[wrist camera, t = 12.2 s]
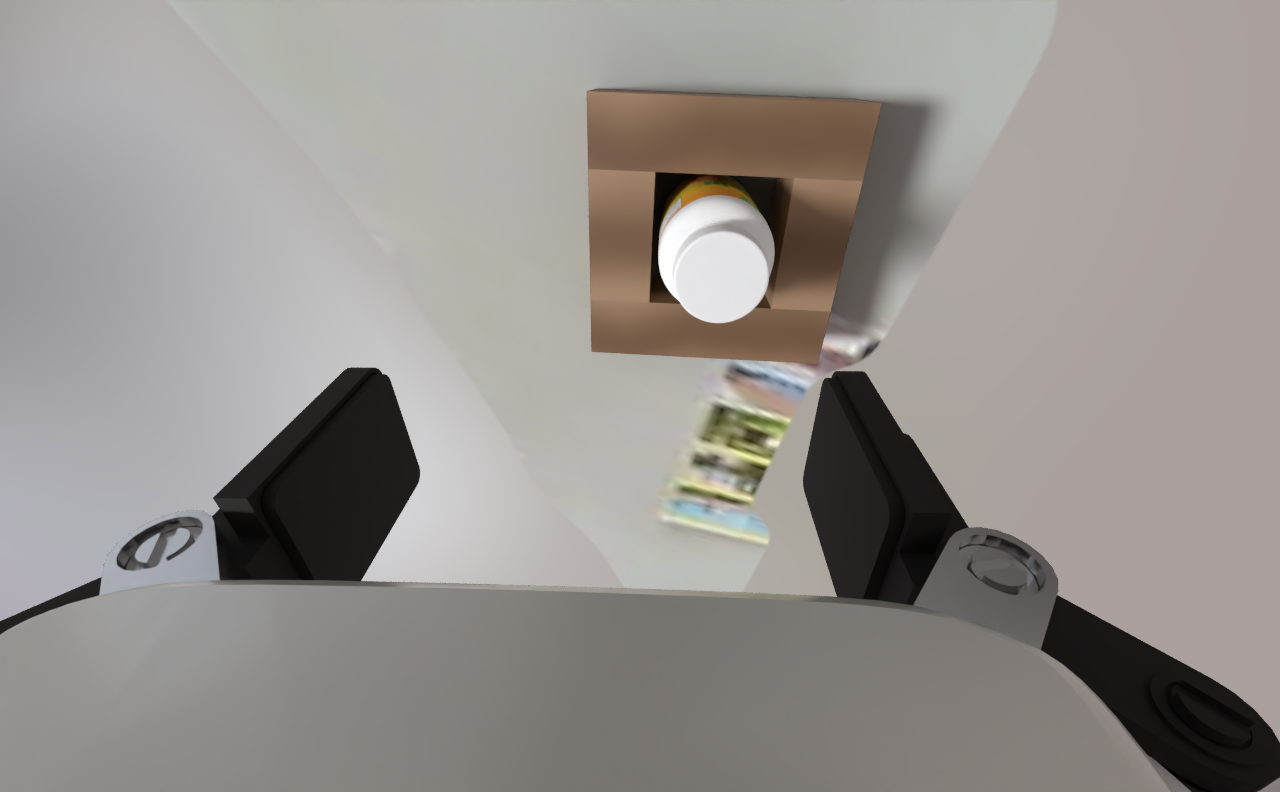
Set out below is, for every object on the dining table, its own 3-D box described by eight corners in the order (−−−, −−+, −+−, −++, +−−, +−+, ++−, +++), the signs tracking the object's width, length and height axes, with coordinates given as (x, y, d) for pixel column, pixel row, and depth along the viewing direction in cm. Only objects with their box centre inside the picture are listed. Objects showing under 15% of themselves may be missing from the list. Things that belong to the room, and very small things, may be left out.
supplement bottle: (773, 198, 29) (815, 250, 21) (724, 282, 31) (743, 357, 23) (687, 153, 28) (695, 187, 20) (644, 243, 30) (635, 307, 22)
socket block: (597, 88, 26) (586, 91, 23) (854, 98, 26) (881, 103, 23) (599, 323, 33) (591, 351, 30) (802, 333, 33) (817, 363, 30)
